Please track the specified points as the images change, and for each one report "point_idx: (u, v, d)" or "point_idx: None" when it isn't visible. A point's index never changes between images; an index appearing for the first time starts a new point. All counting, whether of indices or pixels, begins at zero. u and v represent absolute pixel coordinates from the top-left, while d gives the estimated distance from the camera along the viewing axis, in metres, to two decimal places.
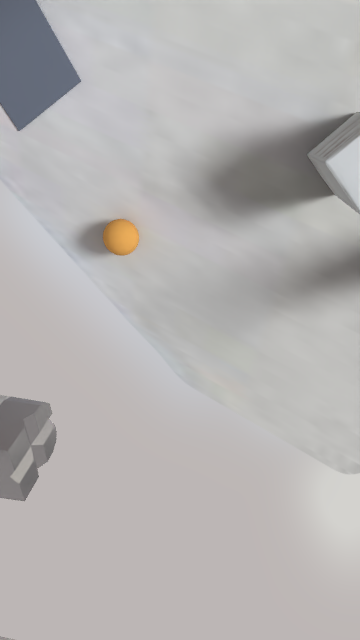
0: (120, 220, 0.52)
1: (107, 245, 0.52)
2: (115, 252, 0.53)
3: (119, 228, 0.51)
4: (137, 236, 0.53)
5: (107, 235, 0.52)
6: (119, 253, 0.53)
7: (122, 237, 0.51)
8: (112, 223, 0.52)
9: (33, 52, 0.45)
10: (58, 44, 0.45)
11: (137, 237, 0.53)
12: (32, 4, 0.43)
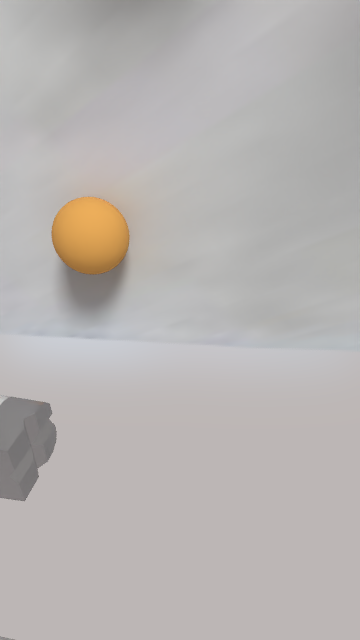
0: None
1: (78, 268, 0.24)
2: (99, 265, 0.24)
3: (60, 221, 0.23)
4: (104, 204, 0.24)
5: (60, 254, 0.24)
6: (106, 260, 0.24)
7: (76, 229, 0.23)
8: (52, 228, 0.24)
9: None
10: None
11: (107, 206, 0.24)
12: None
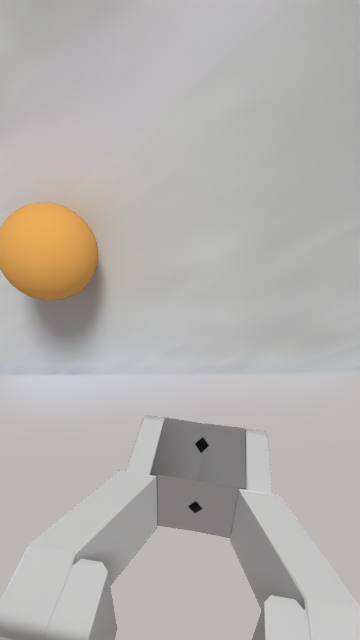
0: None
1: (33, 294, 0.19)
2: (58, 288, 0.19)
3: (1, 236, 0.18)
4: (58, 210, 0.18)
5: (7, 278, 0.19)
6: (65, 281, 0.19)
7: (19, 245, 0.17)
8: None
9: None
10: None
11: (61, 211, 0.18)
12: None
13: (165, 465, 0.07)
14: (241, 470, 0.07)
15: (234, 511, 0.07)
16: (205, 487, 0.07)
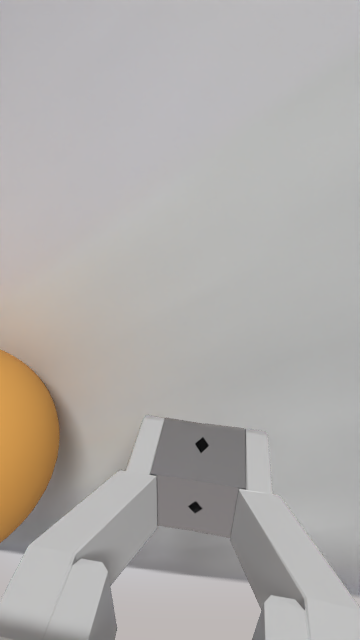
0: None
1: None
2: None
3: None
4: None
5: None
6: None
7: None
8: None
9: None
10: None
11: None
12: None
13: (165, 465, 0.07)
14: (241, 470, 0.07)
15: (234, 511, 0.07)
16: (205, 487, 0.07)
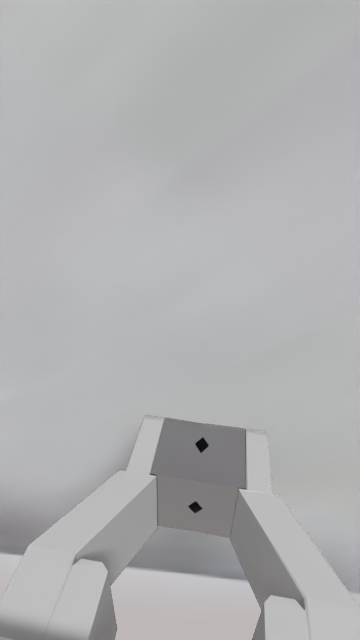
0: None
1: None
2: None
3: None
4: None
5: None
6: None
7: None
8: None
9: None
10: None
11: None
12: None
13: (165, 464, 0.07)
14: (241, 470, 0.07)
15: (234, 511, 0.07)
16: (205, 487, 0.07)
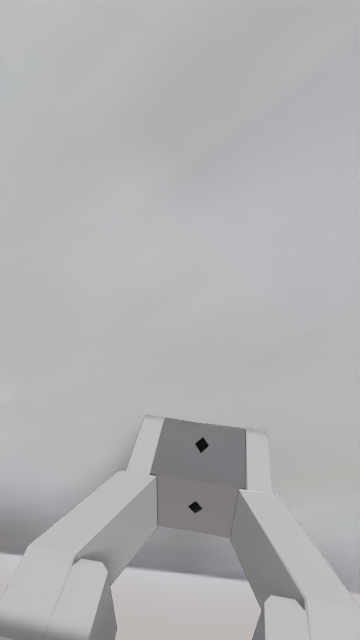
0: None
1: None
2: None
3: None
4: None
5: None
6: None
7: None
8: None
9: None
10: None
11: None
12: None
13: (166, 465, 0.07)
14: (241, 470, 0.07)
15: (234, 511, 0.07)
16: (205, 487, 0.07)
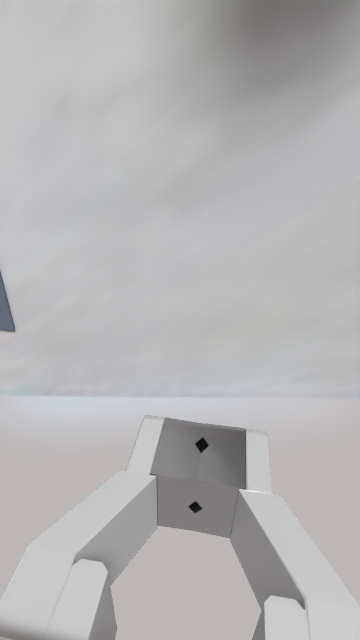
0: None
1: None
2: None
3: None
4: None
5: None
6: None
7: None
8: None
9: None
10: None
11: None
12: None
13: (166, 464, 0.07)
14: (241, 470, 0.07)
15: (234, 511, 0.07)
16: (205, 487, 0.07)
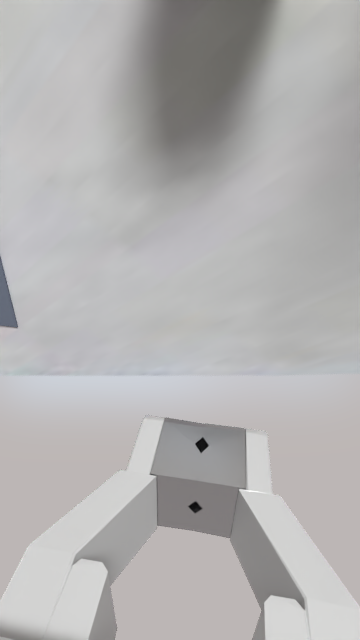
0: None
1: None
2: None
3: None
4: None
5: None
6: None
7: None
8: None
9: None
10: None
11: None
12: None
13: (166, 464, 0.07)
14: (241, 470, 0.07)
15: (234, 511, 0.07)
16: (205, 487, 0.07)
